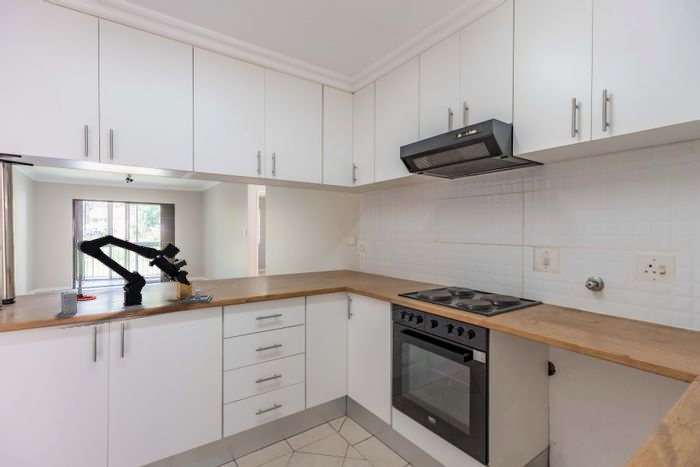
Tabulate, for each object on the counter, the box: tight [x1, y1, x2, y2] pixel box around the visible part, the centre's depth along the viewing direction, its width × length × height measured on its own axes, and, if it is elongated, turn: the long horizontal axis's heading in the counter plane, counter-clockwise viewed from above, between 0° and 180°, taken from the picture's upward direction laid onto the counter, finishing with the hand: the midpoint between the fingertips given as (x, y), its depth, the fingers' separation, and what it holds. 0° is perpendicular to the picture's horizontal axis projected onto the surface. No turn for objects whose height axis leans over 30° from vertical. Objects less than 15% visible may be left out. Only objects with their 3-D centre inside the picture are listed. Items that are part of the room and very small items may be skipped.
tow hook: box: [77, 273, 97, 302], centre depth 165 cm, size 8×13×9 cm
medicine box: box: [60, 290, 78, 315], centre depth 140 cm, size 8×4×9 cm, turn 48°
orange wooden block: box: [176, 279, 193, 299], centre depth 173 cm, size 6×6×8 cm
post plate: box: [180, 289, 213, 305], centre depth 165 cm, size 12×12×5 cm
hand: (187, 284), depth 174 cm, fingers closed on orange wooden block, 6 cm apart
